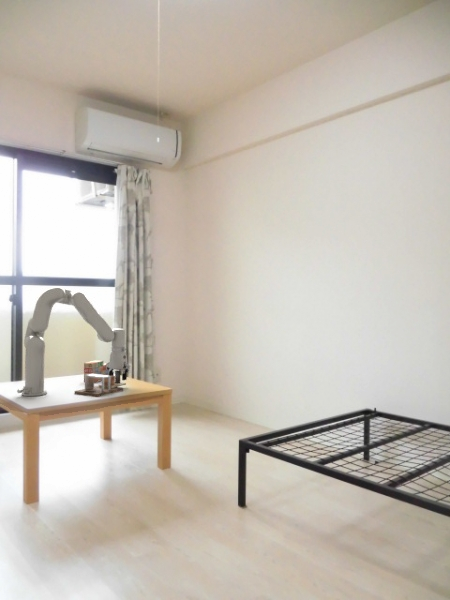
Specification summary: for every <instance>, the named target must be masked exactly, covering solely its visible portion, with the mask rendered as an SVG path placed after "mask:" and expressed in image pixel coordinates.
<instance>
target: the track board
mask: <svg viewBox="0 0 450 600" xmlns="http://www.w3.org/2000/svg"><path fill="white" fill-rule="evenodd" d="M101 390H102V387H99V385H96V386H94V388H91V389H87V390H85V388H82V389H78V390H74V395H79V396H80V395H81V396H85V397H95V398H99V397H102V396H107V395H110V394H111V395H112V394H115V393H118V392H123V391H124V387H122V386H118V387H114V388H110V390H108V388H105V387H104V392H101Z"/></svg>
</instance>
